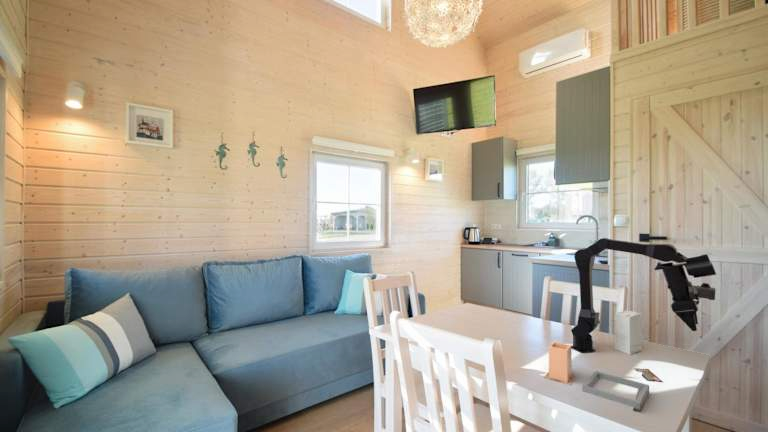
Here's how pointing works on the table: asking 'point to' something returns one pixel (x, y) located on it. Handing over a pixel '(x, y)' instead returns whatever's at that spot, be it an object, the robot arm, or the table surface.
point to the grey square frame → (637, 404)
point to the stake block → (562, 381)
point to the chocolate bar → (648, 375)
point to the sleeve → (560, 361)
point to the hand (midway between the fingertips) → (695, 327)
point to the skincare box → (628, 331)
